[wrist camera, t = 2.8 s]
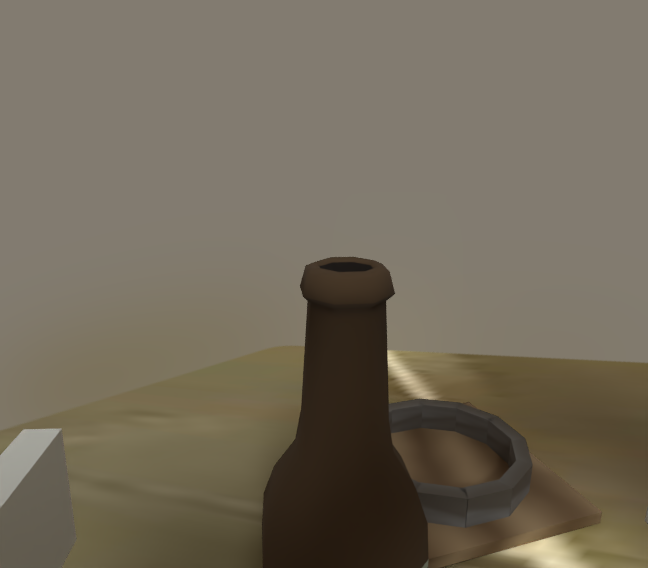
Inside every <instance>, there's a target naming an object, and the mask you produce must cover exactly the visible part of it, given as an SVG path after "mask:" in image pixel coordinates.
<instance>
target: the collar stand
mask: <svg viewBox="0 0 648 568" xmlns="http://www.w3.org/2000/svg"><path fill="white" fill-rule="evenodd" d="M389 424H390V431H391V437H392V444H393V445H394V447H395V448H396V450H397V451H398V452H399V454H400V455H401V457H402V459H403V461H404V463H405V466H406V468H407V470H408V472H409V474H410V477H411V479H412V481H413V483H414V486H415V488H416V490H417V493H418V496H419V499H420V502H421V505H422V508H423V511H424V514H425V517H426V520H427V523H428V557H429V560H428V568H441V567H445V566H448V565H452V564H455V563H459V562H462V561H466V560H469V559H473V558H477V557H480V556H484V555H487V554H491V553H494V552H498V551H502V550H505V549H509V548H512V547H516V546H519V545H523V544H527V543H530V542H534V541H537V540H541V539H544V538H548V537H551V536H555V535H559V534H562V533H566V532H569V531H573V530H576V529H580V528H584V527H587V526H591V525H594V524H598V523H600V522H601V516H602V511H601V510H599V509H598V508H597V507H596V506H594V505H593V504H592V503H591V502H590V501H588V500H587V499H586V498H585V497H584V496H582V495H581V494H580V493H579V492H578V491H576V490H575V489H574V488H573V487H571V486H570V485H569V484H568V483H567V482H565V481H564V480H563V479H562V478H561V477H559V476H558V475H557V474H556V473H554V472H553V471H552V470H551V469H550V468H548V467H547V466H546V465H545V464H544V463H542V462H541V461H540V460H539V459H538V458H536V457H535V456H534V455H533V454H531V453H530V452H529V450H528V447H527V443H526V440H525V438H524V437H523V436H522V435H520V434H519V433H518V432H517V431H515V430H514V429H513V428H512V427H510V426H509V425H508V424H507V423H505V422H504V421H503V420H502V419H500V418H499V417H497V416H495V415H492V414H490V413H487V412H484V411H481V410H479V409H477V408H476V407H474V406H473V405H472V404H471V403H470V402H467V403H458V402H448V401H438V400H428V399H415V400H409V401H403V402H397V403H391V404H389Z"/></svg>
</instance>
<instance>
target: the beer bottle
mask: <svg viewBox="0 0 648 568" xmlns="http://www.w3.org/2000/svg"><path fill="white" fill-rule="evenodd" d="M300 288H301V291H302V294H303V297H304V298H305V299H306V300H308V303H307V321H306V337H305V338H306V339H305V354H304V371H303V388H302V405H301V412H300V418H299V423H298V428H297V434H296V439H295V440H294V441H293V443H292V444H291V445H290V446H289V448H288V449H287V450H286V452H285V453H284V454H283V455H282V457H281V458H280V459H279V460H278V462H277V463H276V464H275V466H274V468H273V471H272V473H271V476H270V478H269V481H268V483H267V486H266V489H265V491H264V501H263V519H262V543H263V568H428V560H429V557H428V523H427V520H426V517H425V514H424V511H423V508H422V505H421V502H420V499H419V496H418V493H417V490H416V488H415V486H414V483H413V481H412V479H411V477H410V474H409V472H408V470H407V468H406V466H405V463H404V461H403V459H402V457H401V455H400V454H399V452H398V451H397V450H396V448H395V447H394V445H393V444H392V437H391V431H390V424H389V402H388V361H387V325H386V324H387V323H386V300H388V299H389V298H390V297H392V296H393V295H394V294H395V292H394V288H393V284H392V280H391V276H390V272H389V271H388V270H387V269H386V267H385V266H384V265H383V264H381V263H379V262H376V261H374V260H368V259H363V258H356V257H331V258H327V259H323V260H320V261H317V262H314V263H311V264H309V265H306V266H305V270H304V274H303V277H302V281H301V284H300Z"/></svg>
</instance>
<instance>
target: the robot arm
mask: <svg viewBox="0 0 648 568" xmlns="http://www.w3.org/2000/svg"><path fill="white" fill-rule="evenodd" d="M645 522H646V523H647V524H648V508H647V512H646V517H645ZM75 541H76V532H75V525H74V517H73V510H72V502H71V495H70V487H69V480H68V473H67V465H66V458H65V450H64V443H63V435H62V429H24V430H23V431H22V432H21V433H20V434H19V435H18V436H17V437H16V438H15V440H14V441H13V442H12V443H11V444H10V445H9V446H8V447H7V448H6V450H5V451H4V452H3V453H2V454H1V455H0V568H62V566H63V564H64V562H65V560H66V558H67V556H68V554H69V553H70V551H71V549H72V547H73V545H74V543H75Z"/></svg>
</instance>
